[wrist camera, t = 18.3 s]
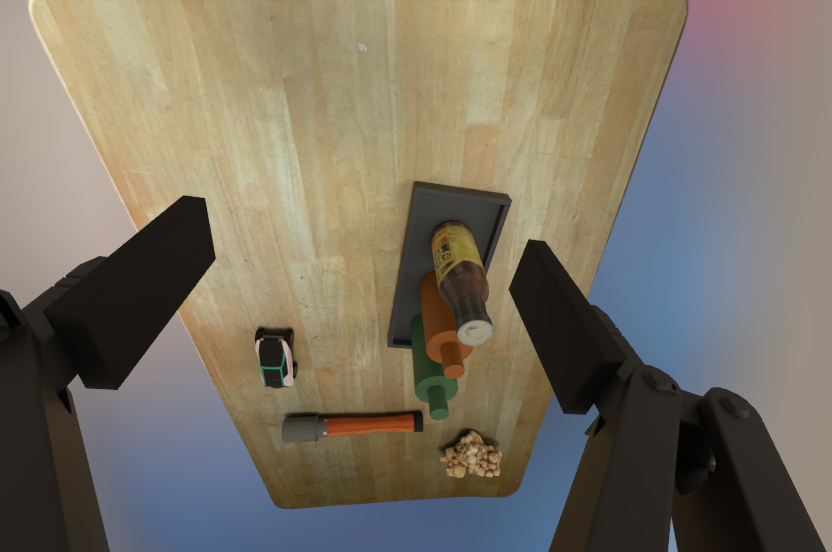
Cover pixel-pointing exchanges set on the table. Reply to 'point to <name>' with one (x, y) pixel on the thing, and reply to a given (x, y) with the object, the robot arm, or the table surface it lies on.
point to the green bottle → (430, 375)
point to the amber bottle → (441, 329)
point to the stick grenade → (346, 426)
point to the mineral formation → (472, 457)
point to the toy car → (275, 359)
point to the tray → (425, 216)
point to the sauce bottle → (462, 282)
